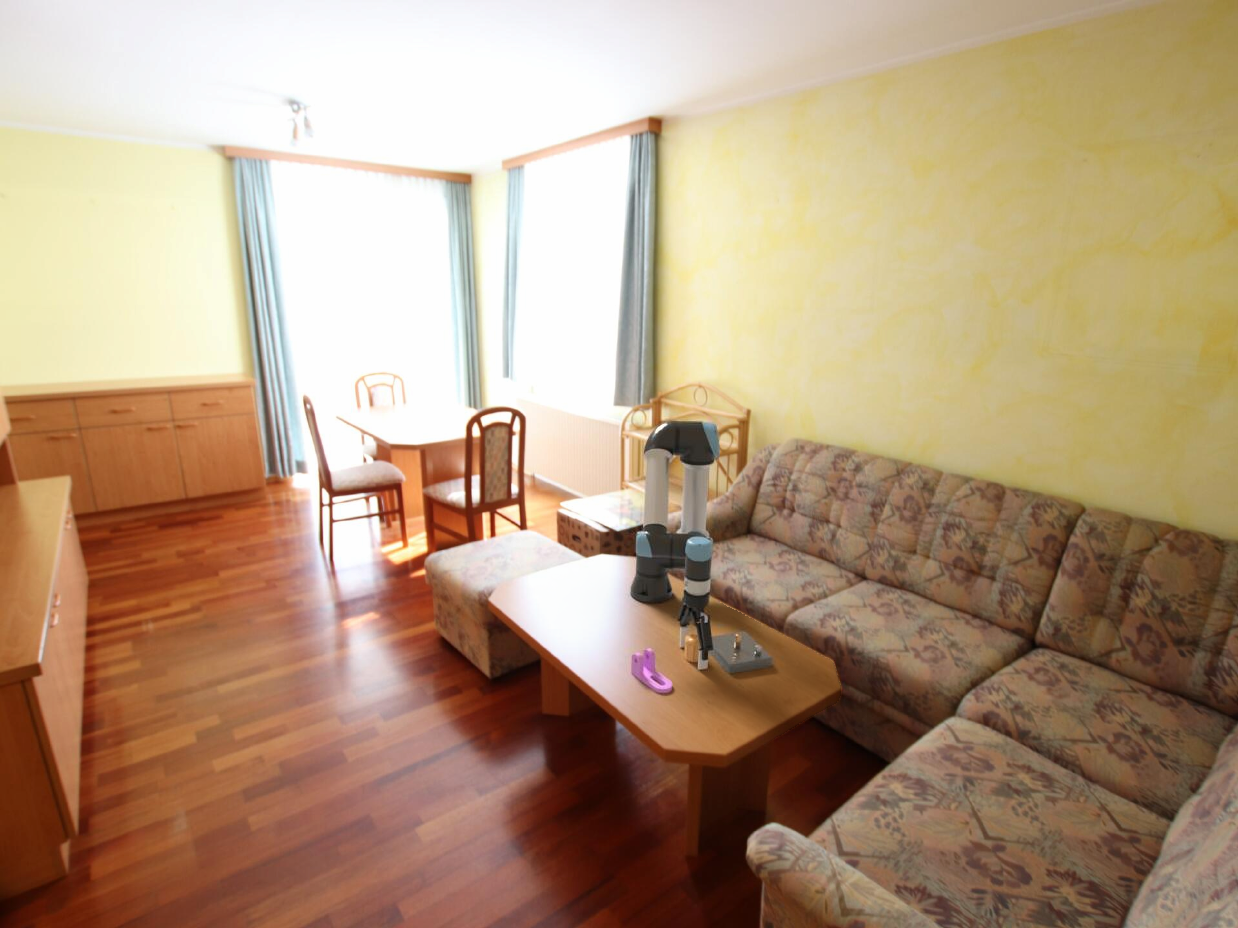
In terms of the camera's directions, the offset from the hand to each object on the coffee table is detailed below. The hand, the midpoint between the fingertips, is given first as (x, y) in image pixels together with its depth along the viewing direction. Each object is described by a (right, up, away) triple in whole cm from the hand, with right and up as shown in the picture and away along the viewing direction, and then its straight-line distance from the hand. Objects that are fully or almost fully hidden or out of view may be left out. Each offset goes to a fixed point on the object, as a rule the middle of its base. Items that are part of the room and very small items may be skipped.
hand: (693, 657), depth 193 cm
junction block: (+13, 0, +1) cm, 13 cm away
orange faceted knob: (0, 0, 0) cm, 0 cm away
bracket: (-13, -3, -12) cm, 18 cm away
